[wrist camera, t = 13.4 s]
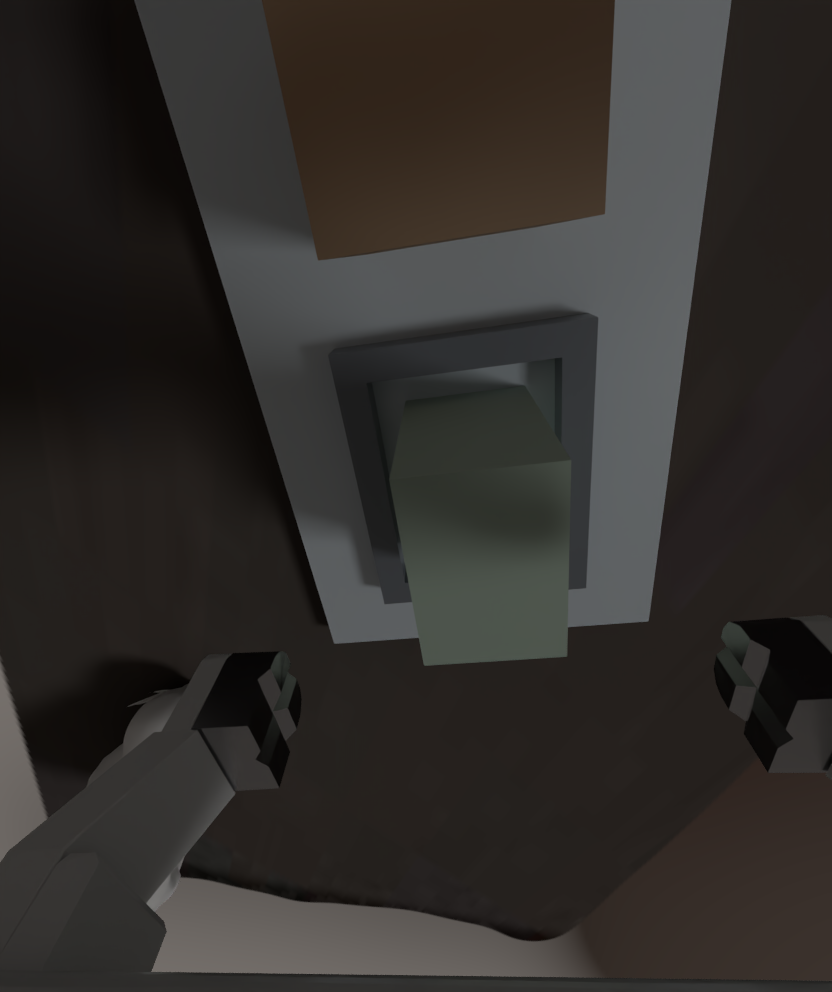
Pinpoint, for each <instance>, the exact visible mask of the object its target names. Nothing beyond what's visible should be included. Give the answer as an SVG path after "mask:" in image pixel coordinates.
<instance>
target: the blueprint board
mask: <svg viewBox="0 0 832 992" xmlns="http://www.w3.org/2000/svg"><path fill="white" fill-rule="evenodd" d="M134 1H135V4H136V7H137V11H138V14H139V17H140V20H141V23H142V27H143V30H144V33H145V36H146V40H147V43H148V46H149V49H150V52H151V56H152V59H153V62H154V65H155V68H156V72H157V75H158V78H159V81H160V85H161V88H162V91H163V94H164V97H165V101H166V104H167V107H168V110H169V113H170V117H171V120H172V123H173V126H174V130H175V133H176V136H177V139H178V142H179V146H180V149H181V152H182V155H183V158H184V162H185V165H186V168H187V171H188V175H189V178H190V181H191V184H192V187H193V191H194V194H195V197H196V200H197V203H198V207H199V210H200V213H201V216H202V220H203V223H204V226H205V229H206V232H207V236H208V239H209V242H210V245H211V248H212V252H213V255H214V258H215V261H216V265H217V268H218V271H219V274H220V277H221V281H222V284H223V287H224V290H225V293H226V297H227V300H228V303H229V306H230V310H231V313H232V316H233V319H234V322H235V326H236V329H237V332H238V335H239V339H240V342H241V345H242V348H243V351H244V355H245V358H246V361H247V364H248V367H249V371H250V374H251V377H252V380H253V384H254V387H255V390H256V393H257V396H258V400H259V403H260V406H261V409H262V412H263V416H264V419H265V422H266V425H267V429H268V432H269V435H270V438H271V441H272V445H273V448H274V451H275V454H276V457H277V461H278V464H279V467H280V470H281V474H282V477H283V480H284V483H285V486H286V490H287V493H288V496H289V499H290V502H291V506H292V509H293V512H294V515H295V519H296V522H297V525H298V528H299V531H300V535H301V538H302V541H303V544H304V547H305V551H306V554H307V557H308V560H309V564H310V567H311V570H312V573H313V576H314V580H315V583H316V586H317V589H318V592H319V596H320V599H321V602H322V605H323V609H324V612H325V615H326V618H327V621H328V625H329V628H330V631H331V634H332V637H333V641H334V644H336V643H351V642H365V641H379V640H393V639H407V638H419V636H418V630H417V625H416V620H415V614H414V609H413V604H412V599H411V593H410V588H409V583H408V577H407V572H406V567H405V561H404V556H403V551H402V545H401V540H400V535H399V530H398V524H397V519H396V514H395V508H394V503H393V498H392V492H391V487H390V482H389V478H390V473H391V468H392V464H393V459H394V454H395V449H396V445H397V440H398V435H399V430H400V425H401V421H402V416H403V411H404V406H405V402H406V401H407V400H415V399H423V398H431V397H439V396H447V395H455V394H463V393H471V392H479V391H487V390H495V389H502V388H510V387H518V386H526V388H527V390H528V391H529V393H530V395H531V396H532V398H533V399H534V401H535V403H536V404H537V406H538V407H539V409H540V411H541V412H542V414H543V415H544V417H545V419H546V420H547V422H548V423H549V425H550V427H551V428H552V430H553V431H554V433H555V435H556V436H557V438H558V440H559V441H560V443H561V444H562V446H563V448H564V449H565V451H566V452H567V454H568V456H569V457H570V459H571V497H570V543H569V588H568V627H575V626H589V625H603V624H617V623H631V622H645V621H649V613H650V606H651V598H652V591H653V583H654V576H655V568H656V561H657V553H658V546H659V538H660V531H661V523H662V516H663V508H664V501H665V494H666V486H667V479H668V471H669V464H670V456H671V449H672V441H673V434H674V426H675V419H676V411H677V404H678V396H679V389H680V381H681V374H682V366H683V359H684V351H685V344H686V336H687V329H688V321H689V314H690V306H691V299H692V291H693V284H694V276H695V269H696V261H697V254H698V246H699V239H700V231H701V224H702V216H703V209H704V201H705V194H706V186H707V179H708V171H709V164H710V156H711V149H712V141H713V134H714V126H715V119H716V111H717V104H718V96H719V89H720V81H721V74H722V66H723V59H724V51H725V44H726V36H727V29H728V21H729V14H730V7H731V0H134Z"/></svg>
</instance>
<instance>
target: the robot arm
mask: <svg viewBox="0 0 832 992" xmlns="http://www.w3.org/2000/svg"><path fill="white" fill-rule="evenodd" d="M721 638H722V640H723V641H724V643H725V644H726V645H727V647H726V648H725V649H723V650H722V651H721V652H720V653H718V654H717V655H716V660H715V665H714V673H715V680H716V685H717V687H718V690H719V692H720V695H721V697H722V699H723V700H724V702H725V704H726V705H727V707H728V709H729V710H730V711H732V712H733V713H735V714H736V715H738V716H739V717H741V718H742V719H744V720H745V721H746V724H745V730H744V735H745V736H746V738H747V740H748V741H749V743H750V745H751V746H752V748H753V749H754V751H755V753H756V754H757V756H758V757H759V759H760V761H761V762H762V764H763V765H764V767H765V769H766V770H767V772H768V773H792V772H793V773H794V772H795V773H802V772H803V773H805V772H806V773H807V772H809V773H812V772H814V773H815V772H816V773H818V772H819V773H820V772H827V773H826V776H827V777H828V778H829V779H831V780H832V618H829V617H827V616H825V615H819V616H805V617H792V618H774V619H761V620H748V621H734V622H729V623H728V624H727V625H726V626H725V627H724V629H723V632H722V636H721ZM290 664H291V663H290V661H289V659H288V657H287V654H286V652H281V651H278V652H251V653H233V654H210V655H208V656H207V657H205V658H204V659H203V660H202V661H201V663H200V664H199V666H198V668H197V670H196V671H195V673H194V675H193V677H192V678H191V680H190V682H189V684H188V686H187V687H186V689H185V691H184V693H183V694H182V696H181V698H180V700H179V701H178V703H177V705H176V707H175V709H174V710H173V712H172V714H171V716H170V717H169V719H168V721H167V723H166V724H165V726H164V728H163V730H162V732H153V733H152V734H151V735H150V736H149V737H147V738H146V739H145V740H144V741H142V742H141V743H140V744H139V745H138V746H136V747H135V748H134V749H133V750H131V751H130V752H129V753H128V754H126V755H125V756H124V757H123V758H122V759H120V760H119V761H118V762H117V763H115V764H114V765H113V766H112V767H111V768H109V769H108V770H107V771H106V772H104V773H103V774H102V775H101V776H100V777H98V778H97V779H96V780H95V781H93V782H92V783H91V784H90V785H89V786H87V787H86V788H85V789H84V790H82V791H81V792H80V793H79V794H78V795H76V796H75V797H74V798H73V799H71V800H70V801H69V802H68V803H67V804H65V805H64V806H63V807H62V808H60V809H59V810H58V811H57V812H55V813H54V814H53V815H52V816H51V817H49V818H48V819H47V820H46V821H44V822H43V823H42V824H41V825H40V826H38V827H37V828H36V829H35V830H34V831H32V832H31V833H30V834H29V835H27V836H26V837H25V838H24V839H22V840H21V841H20V842H19V843H18V844H17V845H15V846H14V847H13V848H12V849H10V850H9V851H8V852H7V854H6V855H5V857H4V858H3V860H2V861H1V862H0V992H832V981H797V980H796V981H795V980H793V981H792V980H720V979H719V980H718V979H641V978H636V979H635V978H568V977H491V976H490V977H489V976H415V975H412V976H411V975H339V974H331V975H330V974H262V973H186V972H185V973H184V972H151V971H152V968H153V966H154V963H155V960H156V958H157V955H158V952H159V950H160V947H161V944H162V942H163V939H164V937H165V934H166V928H165V924H164V921H163V920H162V919H161V918H160V917H159V916H158V915H157V914H156V913H155V912H154V911H153V910H152V909H151V908H150V907H149V906H148V905H147V904H146V903H147V902H148V900H149V899H150V898H151V897H152V896H153V894H154V893H155V892H156V891H157V889H158V888H159V887H160V886H161V884H162V883H163V882H164V881H165V880H166V878H167V877H168V876H169V875H170V873H171V872H172V871H173V870H174V868H175V867H176V866H177V865H178V863H179V862H180V861H181V860H182V859H183V857H184V856H185V855H186V854H187V852H188V851H189V850H190V849H191V847H192V846H193V845H194V844H195V843H196V841H197V840H198V839H199V838H200V836H201V835H202V834H203V833H204V831H205V830H206V829H207V828H208V827H209V825H210V824H211V823H212V822H213V820H214V819H215V818H216V817H217V815H218V814H219V813H220V812H221V811H222V809H223V808H224V807H225V806H226V804H227V803H228V802H229V801H230V799H231V798H232V797H233V796H234V795H235V792H234V791H240V790H256V789H272V788H279V787H280V784H281V781H282V777H283V774H284V770H285V767H286V764H287V760H288V757H289V753H290V751H289V748H288V746H287V743H286V740H287V739H288V738H289V737H290V735H291V734H292V733H293V732H294V731H295V730H296V729H297V726H298V722H299V718H300V713H301V700H302V699H301V692H300V687H299V684H298V681H297V679H296V678H294V677H293V676H291V675H290V674H289V673H288V670H289V667H290Z"/></svg>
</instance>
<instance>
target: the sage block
mask: <svg viewBox="0 0 832 992" xmlns="http://www.w3.org/2000/svg"><path fill="white" fill-rule="evenodd" d="M389 482H390V487H391V492H392V498H393V503H394V508H395V514H396V519H397V524H398V530H399V535H400V540H401V545H402V551H403V556H404V561H405V567H406V572H407V577H408V583H409V588H410V593H411V599H412V604H413V609H414V614H415V620H416V625H417V630H418V636H419V641H420V646H421V652H422V657H423V662H424V666H427V665H443V664H458V663H474V662H489V661H505V660H520V659H536V658H551V657H567V634H568V588H569V543H570V497H571V459H570V457H569V456H568V454H567V452H566V451H565V449H564V448H563V446H562V444H561V443H560V441H559V440H558V438H557V436H556V435H555V433H554V431H553V430H552V428H551V427H550V425H549V423H548V422H547V420H546V419H545V417H544V415H543V414H542V412H541V411H540V409H539V407H538V406H537V404H536V403H535V401H534V399H533V398H532V396H531V395H530V393H529V391H528V390H527V388H526V386H518V387H510V388H502V389H495V390H487V391H479V392H471V393H463V394H455V395H447V396H439V397H431V398H423V399H415V400H407V401H406V402H405V406H404V411H403V416H402V421H401V425H400V430H399V435H398V440H397V445H396V449H395V454H394V459H393V464H392V468H391V473H390V478H389Z"/></svg>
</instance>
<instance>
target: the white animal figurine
mask: <svg viewBox="0 0 832 992" xmlns="http://www.w3.org/2000/svg"><path fill="white" fill-rule="evenodd" d="M187 686H188V684H186V685H184V686H183V687H181V688H176V689H172V690H160V691H155V692H158V693H159V694H156V695H153V696H151V697H148V698H146V699H143V700H141V701H138V702H136V703H134V704H131V705H129V706H132V705H135V704H136V705H138V704H142V703H145V702H147V703H145V704H144V705H143V706H142V707H141V708H140V709H139V710H138V711H137V713H136V714H135V715H134V717H133V718H132V720H131V722H130V723H129V725H128V728H127V730H126V733H125V736H124V741H123V744H121V745H120V746H118V747H117V748H116V749H115V750H114V751H113V752H111V753H110V754H109V755H107V756H106V757H105V758H104V759H103V760H102V761H101V763H100V764H99V766H98V767H97V768H96V769H95V771H94V772H93V773H92V775H91V776H90V778H89V781H88V785H87V786H89V785H90V784H91V783H92V782H93V781H95V780H96V779H97V778H98V777H100V776H101V775H102V774H103V773H104V772H106V771H107V770H108V769H109V768H111V767H112V766H113V765H114V764H115V763H117V762H118V761H119V760H120V759H122V758H123V757H124V756H125V755H126V754H128V753H129V752H130V751H131V750H133V749H134V748H135V747H136V746H138V745H139V744H140V743H141V742H142V741H144V740H145V739H146V738H147V737H149V736H150V735H151V734H152V733H153V732H162V730H163V728H164V726H165V724H166V723H167V721H168V719H169V717H170V716H171V714H172V712H173V710H174V709H175V707H176V705H177V703H178V701H179V700H180V698H181V696H182V694H183V693H184V691H185V689H186V687H187ZM150 693H151V692H150ZM129 706H127V707H129ZM183 859H184V857H183ZM183 859H182V860H181V861H180V862H179V863H178V865H177V866H176V867H175V868H174V870H173V871H172V872H171V873H170V875H169V876H168V877H167V878H166V880H165V881H164V882H163V883H162V884H161V886H160V887H159V888H158V889H157V891H156V892H155V893H154V894H153V896H152V897H151V898H150V899H149V900H148V902H147V903H146V904H147V905H148V906H149V907H150V908H151V909H152V910H153V911H154V912H155V911H156V910H157V909H158V908H159V907H160V906H161V905H162V904H163V903H164V902H165V901H167V900H168V899H169V898H170V897H171V896H172V894H173V893H174V891H175V889H176V887H177V886H178V884H179V881H180V877H181V876H180V872H179V870H180V867H181V864H182V862H183Z"/></svg>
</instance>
